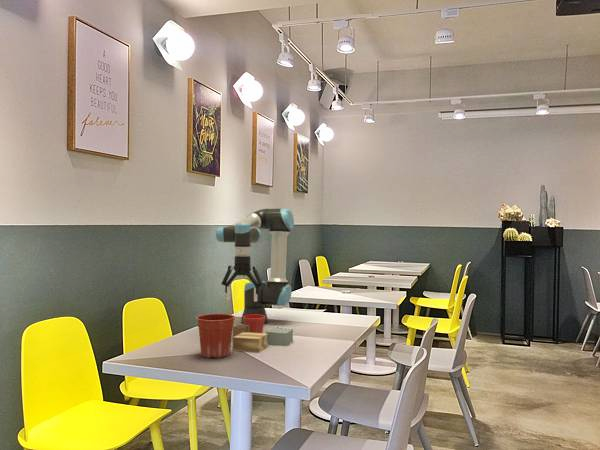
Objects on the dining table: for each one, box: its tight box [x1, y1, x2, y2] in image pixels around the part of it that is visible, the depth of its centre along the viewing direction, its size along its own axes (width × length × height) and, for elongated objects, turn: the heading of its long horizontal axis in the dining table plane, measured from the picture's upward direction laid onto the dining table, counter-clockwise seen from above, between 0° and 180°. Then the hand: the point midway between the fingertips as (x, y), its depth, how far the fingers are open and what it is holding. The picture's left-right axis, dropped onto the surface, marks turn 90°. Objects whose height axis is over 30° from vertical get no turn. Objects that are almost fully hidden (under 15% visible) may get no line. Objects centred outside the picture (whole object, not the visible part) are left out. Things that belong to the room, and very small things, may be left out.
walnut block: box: [232, 323, 249, 338], centre depth 241 cm, size 6×6×7 cm
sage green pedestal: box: [265, 327, 294, 347], centre depth 236 cm, size 10×10×6 cm
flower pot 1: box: [195, 313, 236, 359], centre depth 214 cm, size 16×16×16 cm
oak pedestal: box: [232, 332, 269, 353], centre depth 225 cm, size 12×12×6 cm
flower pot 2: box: [243, 314, 265, 333], centre depth 252 cm, size 11×11×10 cm
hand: (242, 300), depth 239 cm, fingers open, 13 cm apart
